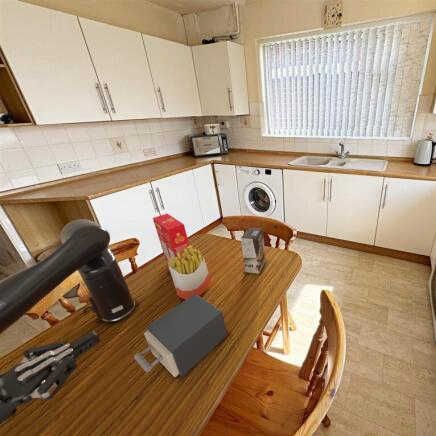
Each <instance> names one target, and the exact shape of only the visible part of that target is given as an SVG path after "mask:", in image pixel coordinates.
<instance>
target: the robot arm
mask: <svg viewBox="0 0 436 436" xmlns="http://www.w3.org/2000/svg"><path fill="white" fill-rule="evenodd" d="M60 240H61V243H62V244H60V246H59V247H58V248H56V249H55V250H54V251H52V252H51V253H50V254H49V255H47V256H46V257H44V258H43V259H42V260H40V261H38V262H37V263H34V264H33V265H31V266H29V267H27V268H24V269H22V270H20V271H18V272H15V273H13V274H10V275H9V276H6V277H5V278H2V279H1V280H0V335H2V334H3V333H4V332H6V331H7V330H8V329H9V328H10V327H12V326H13V325H14V324H16V322H18V321H19V320H20V319H22V318H23V317H24V316H25V315H26V314H27V313H29V312H30V311H31V310H32V309H33V308H35V306H36V305H38V304H39V303H40V302H41V301H42V300H44V298H46V297H47V296H48V295H49V294H50V293H51V292H53V291H54V290H55V289H56V288H57V287H59V286H60V285H61V284H62V283H64V282H65V281H66V280H67V279H68V278H69V277H70V276H71V275H73V274H74V273H76V272H78V274H79V275H80V277H81V279H82V281H83V283H84V285H85V287H86V289H87V291H88V293H89V296H88V302H89V303H90V305H88V306H86V307H85V308H83V311H82V313H83V314H86V312H87V310H89V309H90V310H91V313H92V314H96V317H97V318H98V320H99V321H103V322H104V323H108V324H112V323H116V322H117V323H118V322H119V321H122V320H124V319H126V318H127V317H129V316H130V315H131V314H132V313H133V312H134V311H135V310H136V302H135V301H134V298H133V296H132V294H131V291H130V288H129V286H128V284H127V282H126V281H127V280H126V279H125V277H124V274H123V272H122V269H121V267H120V264H119V262H118V260H117V259H118V258H117V257H116V255H115V254H114V253H113V252H112V250H111V249H110V247H109V245H110V241H111V234H110V232H109V231H108V229H106V228H105V227H103V226H102V225H100V224H99V223H97V222H96V221H93V220H90V219H86V218H85V219H83V218H82V219H81V218H80V219H75V220H72V221H70V222H68V223H67V224H65V226H64V227H63V228H62V230H61V232H60ZM100 342H101V338H100V337H99V335H98V334H97V332H96V331H95V330H93V331H91V332H88V333H86V334H84V335H82V336H81V337H80V338H78V339H76V340H74V341H73V342H71V343H64V342H63V341H62V340H59V341H55V342H51V343H47V344H43V345H39V346H38V345H37V346H33V347H30V348H27V349H25V350H24V351H23V352H22V355H23V356H24V357H23V359H22V360H21V361H20V362H19V363H17V364H14V365H13V366H12V367H10V368H9V369H8V370H7V371H5V372H4V373H3V374H0V425H1V424H3V423H5V422H6V421H7V420H10V418H13V416H15V415H16V413H17V411H18V407H20V406H21V407H22V406H23V405H26V404H28V403H30V402H31V401H32V400H34V399H43V400H44V401H45V402H47V401H50V400H52V399H53V398H54V397H55V395H56V394H57V393H58V391H59V390H60V388H62V387H63V385H64V384H65V383H66V381H67V380H68V379H69V378H70V376H71V375H73V373H74V371H75V370H76V369H77V367H78V364H77V361H78V359H79V357H81V356H82V355H83V354H85V353H87V352H88V351H90V350H91V349H93V348H94V347H96V346H97V345H98V344H99V343H100Z"/></svg>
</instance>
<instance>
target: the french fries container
mask: <svg viewBox="0 0 436 436" xmlns="http://www.w3.org/2000/svg"><path fill="white" fill-rule="evenodd" d="M187 249H188V251H189V253H188V251H187ZM187 249H186V248H185V249H184V252H185V253H183V254H182V257H183V258H181V256H180V253H179V252H178V253H177V256H178V258H177V257H174V260H175V263H174V261H173V259H172V258H169V259H168V261H169V264H170V266H169V269H170V272H171V273H170V272H169V273H170V275H171V278H172V281H173V284H174V288H175V292H176V295H177V296H178V297H180V298H181V299H183V300H184V301H185V300H186V299H188V298H189V297H191V296H192V295H194V294H197V295H198V296H200V297H201V295H202V294H203V293H205V292H206V291H207V289H208V287H209V286H210V283H211V278H210V274H209V270H208V266H207V264H206V261H205V257H204V256H203V254H202V252H201V251H200V250H197V249H196V248H194V247H193V245H192V244H191V245H190V244H189V246H188V247H187ZM178 260H179V261H178ZM169 269H168V270H169Z"/></svg>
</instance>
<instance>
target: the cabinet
mask: <svg viewBox="0 0 436 436" xmlns="http://www.w3.org/2000/svg"><path fill="white" fill-rule="evenodd" d="M146 329H147V331H148V330H149V331H150V332H151V333H152V334H153V335H154V336H155V337H156V338H157V339H158V340H159V341H161V342H162V343H163V344H164V345H165V346H166V347H167V348H168V349H169V350H170V351H171V352H172V355H173V358H174V360H175V363H176V366H177V368H178V371H179V374H178V376H180V377H181V378H183V377H184V376H185V375H187V373H188V372H189V371H190V370H191V369H193V367H195V366H196V365H197V364H198V363H199V362H200V361H201V360H202V359H203V358H204V357H205V356H207V354H209V353H210V352H211V351H212V350H213V349H214V348H215V347H216V346H218V345H219V343H221V342H222V341H224V339H225V338H226V337H227V336H228V333H227V329H226V323H225V318H224V314H223V310H221V309H219V308H218V307H216V306H215V305H213V304H212V303H211V302H209V301H207V300H206V299H205V298H203V297H201V295H200V296H198V295H197V294H194V295H192V296H191V297H189V298H188V299H186V300H185V299H184V301H182V302H181V303H179V304H177V305H176V306H175V307H173V308H171V309H170V310H169V311H167V312H165V313H164V314H162V315H161V316H159V317H158V318H157V319H155V320H154V321H152V322H151V323H149V324H147V325H146Z"/></svg>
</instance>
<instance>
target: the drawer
mask: <svg viewBox="0 0 436 436" xmlns="http://www.w3.org/2000/svg"><path fill="white" fill-rule="evenodd" d="M143 335H144V337H145V340H146V342H147V345H148V346H147V347H146V348H145V349H144V350H143V351H141V352H137V353H136V354H135V355H134V356H133V358H134V360H135V361H136V363H138V365H139V366H140V368H142V369H143V371H144V372H145V373H149V372H151V371H152V369H153V367H154V366H155V365H157V364H158V363H159V362H160V364H162V366H163V367H164V368H165V369H166V370H167V371H168V372H169V373H170V374H171V375H172V376H173V377H174V378H177V377H178V376H179V371H178V368H177V366H176V363H175V360H174V358H173V355H172V352H171V351H170V350H169V349H168V348H167V347H166V346H165V345H164V344H163V343H162V342H161V341H159V340H158V339H157V338H156V337H155V336H154V335H153V334H152V333H151V332H150V331H149V330H148V329H147V330H146V331H144V332H143ZM149 351H150V352H151V354H152V355H153V356H154V357H155V358H156V359H155V360H154V361H152V362H151V363H149V361H148V360H147V359H146V358H145V357H144V355H145V354H146V353H148V352H149Z"/></svg>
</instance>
